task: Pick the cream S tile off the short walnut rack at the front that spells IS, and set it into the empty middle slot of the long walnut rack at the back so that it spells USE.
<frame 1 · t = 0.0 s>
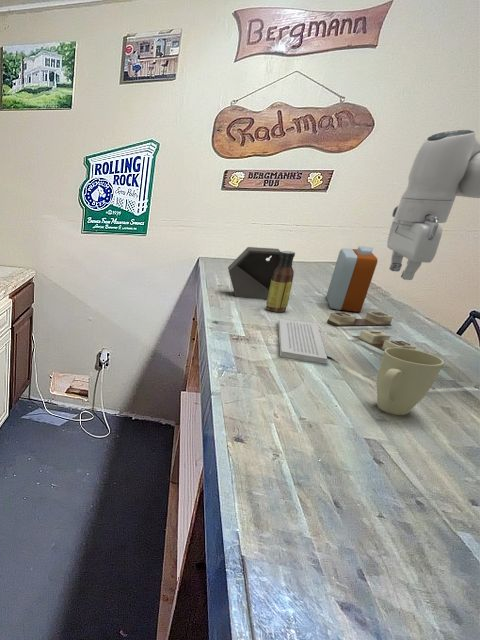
hand: (399, 274, 106), 23 cm above the bar counter, tool pointing down, fingers open, 8 cm apart
mug: (390, 411, 94), on the bar counter
sauce bottle: (274, 310, 157), on the bar counter
front rack: (383, 349, 124), on the bar counter
plaque: (299, 342, 130), on the bar counter
planter: (251, 296, 173), on the bar counter
orange grey tall block: (341, 305, 163), on the bar counter
s tile: (397, 351, 120), point 1 cm above the bar counter, touching front rack
back rack: (358, 324, 143), on the bar counter
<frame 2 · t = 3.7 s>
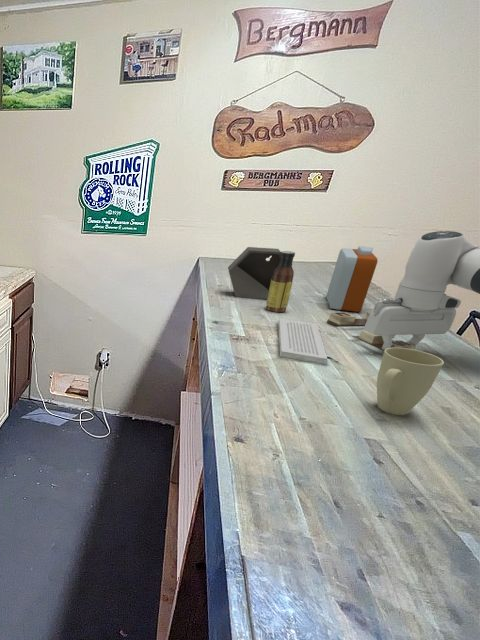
hand: (398, 349, 120), 2 cm above the bar counter, tool pointing down, fingers closed on s tile, 4 cm apart
s tile: (397, 351, 120), point 1 cm above the bar counter, touching front rack, gripper
everything else where it was.
when the fingers open (2 cm above the bar counter, at t = 11.4 s): s tile stays where it is, resting on back rack.
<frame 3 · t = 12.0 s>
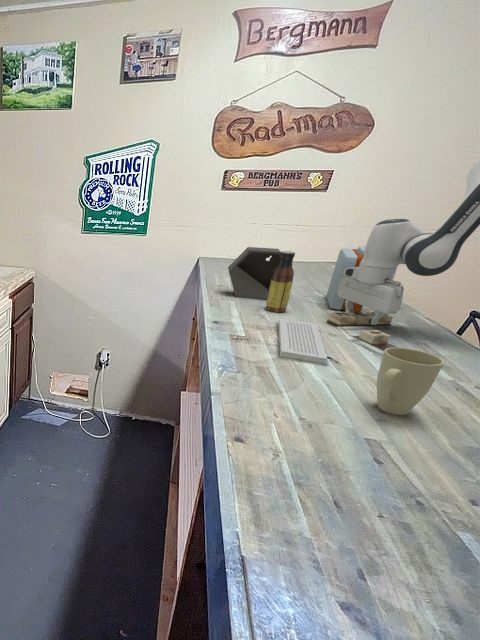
hand: (360, 319, 142), 2 cm above the bar counter, tool pointing down, fingers open, 8 cm apart
s tile: (358, 321, 143), point 1 cm above the bar counter, touching back rack
everything else where it was.
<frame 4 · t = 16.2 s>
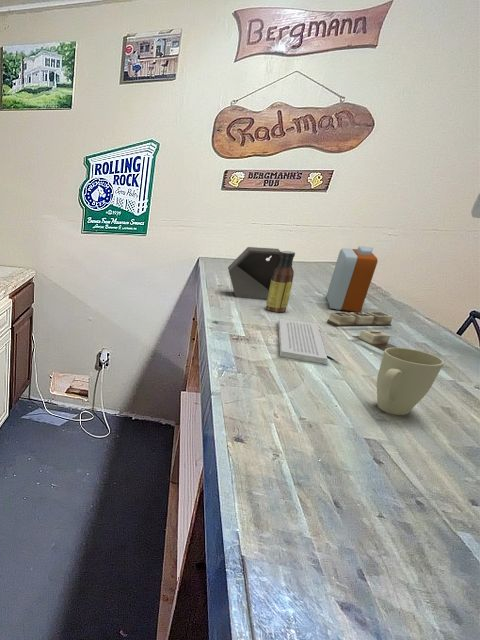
nothing on the bar counter moved.
at the end: s tile 0.1 cm off-centre on the back rack, point 1.0 cm above the back rack's base; s tile tilted 0°; the gripper is holding nothing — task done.
